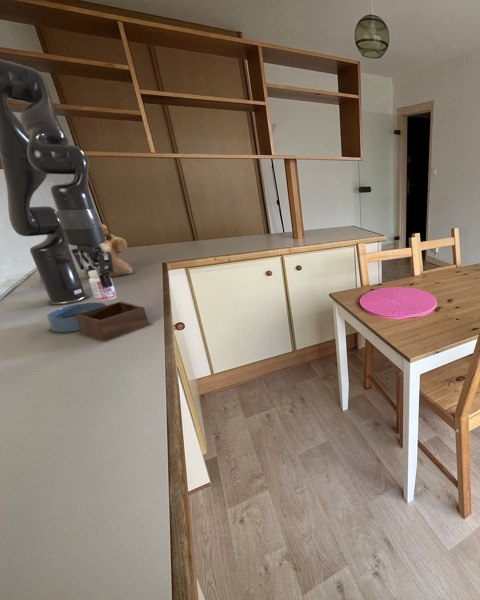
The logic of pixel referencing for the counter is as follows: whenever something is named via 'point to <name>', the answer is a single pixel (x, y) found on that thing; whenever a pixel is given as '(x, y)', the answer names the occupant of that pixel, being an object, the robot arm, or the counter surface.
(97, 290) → the pill bottle
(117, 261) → the tan lumpy upright piece
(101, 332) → the box
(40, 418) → the counter surface
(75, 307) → the bowl
